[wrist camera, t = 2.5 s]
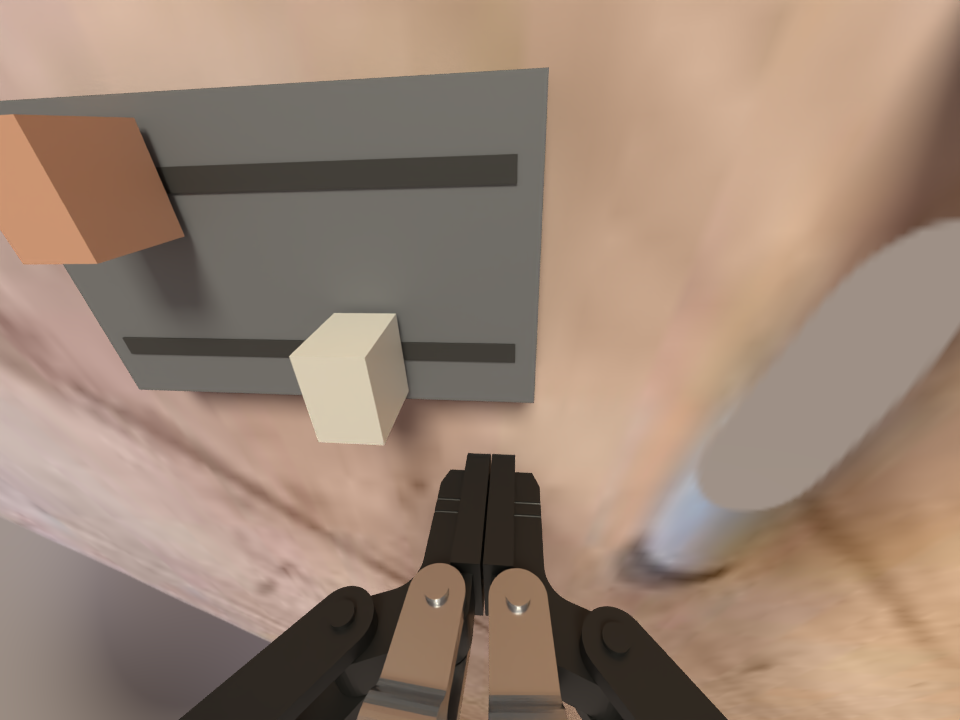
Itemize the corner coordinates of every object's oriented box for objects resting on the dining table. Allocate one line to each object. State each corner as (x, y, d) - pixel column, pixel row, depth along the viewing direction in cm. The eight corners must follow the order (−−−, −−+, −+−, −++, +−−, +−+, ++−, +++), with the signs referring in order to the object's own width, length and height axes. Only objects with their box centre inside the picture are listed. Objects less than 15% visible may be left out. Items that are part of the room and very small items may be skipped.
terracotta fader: (134, 117, 14) (12, 114, 11) (184, 236, 17) (97, 263, 13) (64, 121, 15) (-74, 118, 11) (123, 237, 17) (23, 264, 14)
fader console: (545, 78, 15) (548, 67, 13) (533, 371, 22) (533, 403, 20) (45, 106, 18) (-39, 102, 15) (179, 362, 25) (138, 390, 22)
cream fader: (395, 313, 18) (364, 357, 14) (408, 391, 20) (384, 445, 16) (334, 313, 18) (289, 356, 15) (353, 389, 20) (318, 442, 17)
